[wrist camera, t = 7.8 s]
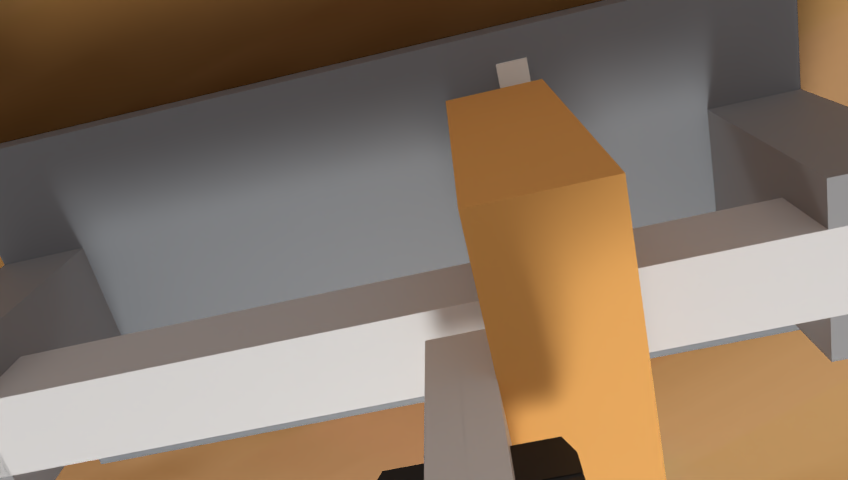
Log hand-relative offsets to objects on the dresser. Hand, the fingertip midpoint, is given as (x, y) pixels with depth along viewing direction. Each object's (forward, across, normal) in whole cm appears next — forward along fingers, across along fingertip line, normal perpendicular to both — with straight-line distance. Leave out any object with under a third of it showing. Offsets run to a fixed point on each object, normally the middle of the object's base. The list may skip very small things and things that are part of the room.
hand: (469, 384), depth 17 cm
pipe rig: (+11, -2, 0) cm, 11 cm away
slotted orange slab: (+8, +2, 0) cm, 8 cm away
